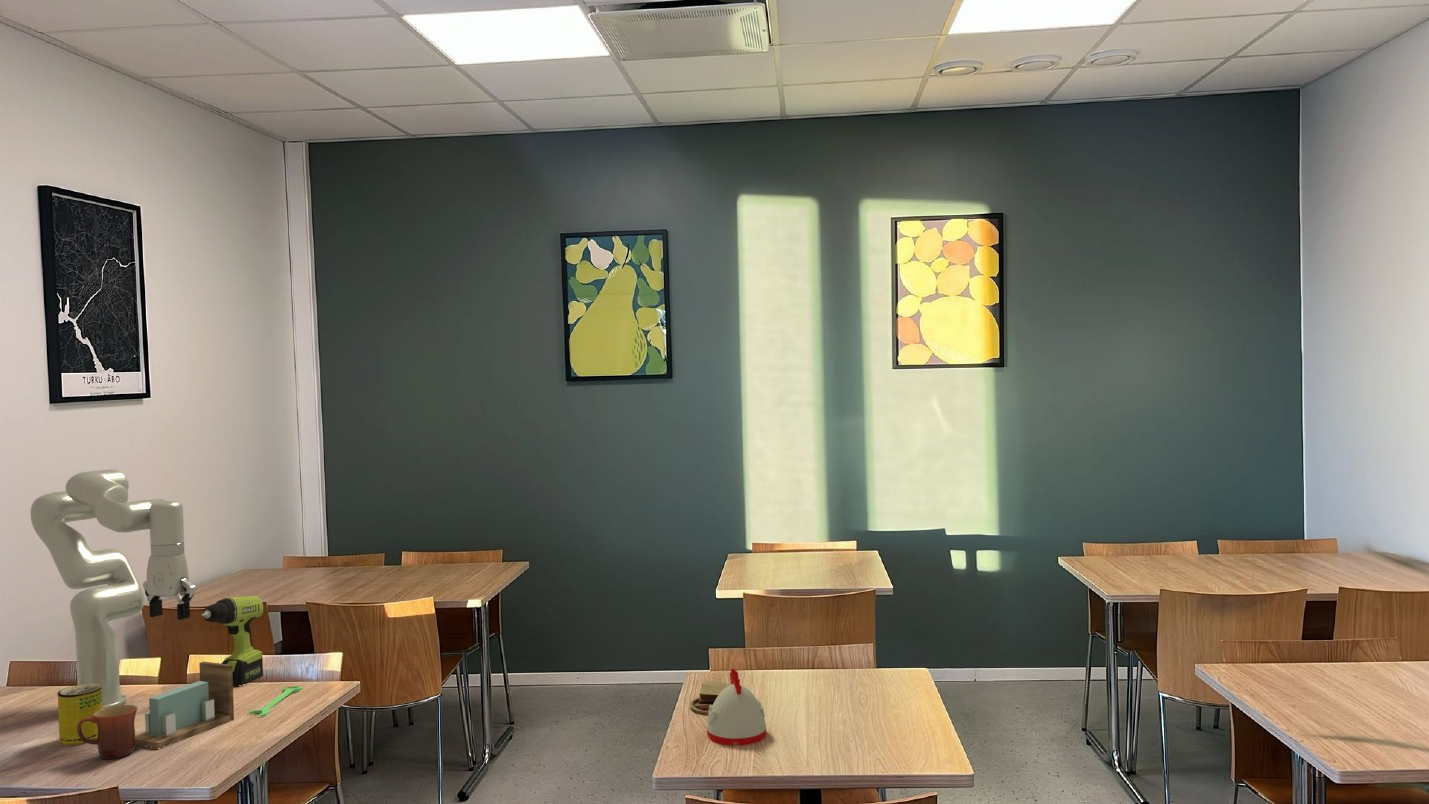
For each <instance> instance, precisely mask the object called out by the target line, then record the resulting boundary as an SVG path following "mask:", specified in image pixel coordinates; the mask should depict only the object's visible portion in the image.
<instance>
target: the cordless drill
mask: <svg viewBox="0 0 1429 804" xmlns="http://www.w3.org/2000/svg"><path fill="white" fill-rule="evenodd" d="M263 613H264V603H263V602H262V600H261V598H260V597H259V596H257V595H248V596H232V597H225V598H224V597H223V598H222V599H219V600H217V601H216V602H215V603H213V604H212V603H211V604H210V605H208V606H206V607H205V608H204V609H203V612H202V614H200V616H202V617H203V619H204V621H206V622H209V623H217V624H221V625H223V626H225V628H227V631H228V632H227V633H228V635H231V636H232V637H233V638H232V639H233V642H234V651H233V653H231V654H230V655H229V656H228V657H226V658H224V660H222V661H221V663H220V664H229V665H232V673H233V687H239V686H238V685H243V684H245V685H247V684H249V683H251V682H253V681H256V680H258V679H260V678H261V677H263V676H264V667H263V666H264V661H263V659H264V657H263V651H260V650H259V649H254V647H253V640H252V630H251V626H250V625H251V623H252V621H253V620H255V619H257V618H259V617H261V616H262V615H263ZM243 686H244V685H243Z"/></svg>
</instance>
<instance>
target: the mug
mask: <svg viewBox="0 0 1429 804" xmlns="http://www.w3.org/2000/svg"><path fill="white" fill-rule="evenodd" d="M137 711H138V706H137V705H134V704H122V705H117V706H112V707H107V708H104V709H101V710H98V711H96V712H95V713H94V714H93V716H91V717H85V718H83V719H81V720H80V721H79V722H78V725H77V732H78V736H79V737H80V739H81V740H82V741H83V742H85V744H90V745H92V746H93V745H94V746H95V745H96V746H97V750H98V757H100V759H104V760H117V759H122V758H125V757H127V756H129V755H131V754H132V753H133V752H134V750H135V746H136V745H135V742H136V740H135V736H136V729H135V719H136V715H137ZM86 721H90V722H93V723H95V724H96V725H97V728H98V737H97V738H95V739H90V738H87V737H86V736H85V735H84V734H83V731H82V723H83V722H86ZM121 757H122V758H121Z"/></svg>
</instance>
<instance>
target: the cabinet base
mask: <svg viewBox="0 0 1429 804" xmlns="http://www.w3.org/2000/svg"><path fill="white" fill-rule="evenodd" d="M199 681H203V682H208V694H209V699H208V700H205V701H202V719H203V720H202V721H199V722H197V723H194V724H191V725H189V726H186V727H184V728H181V729H178V730H176V723H175V713H169V714H167V715H164V716H162V723H163V736H160V737H157V736H151V735H150V711H148V712H145V713H144V722H145V723H144V724H145V727H144V728H145V731H144V732H142V733H139V734H135V740H136V742H135V746H136V745H138V747H142V746H147V747H146V748H148V747H152V748H151V749H154V748H161V747H163V746H166V747H168V746H167V745H169V744H171V743H174V744H176V743H178V742H177V741H179V740H181V741H183V740H182V739H184V740H186V739H188V738H187V737H189V738H191V737H194V736H196V735H198V733H199V734H201V732H202V733H204V732H206V730H207V731H209V730H211V729H210V728H212V729H214V728H216V726H217V727H219V726H221V725H224V724H226V723H225V722H227V723H229V722H231V721H230V720H232V719H234V720H235V713H234V712H235V711H234V710H235V709H234V708H235V707H234V704H235V703H234V686H233V673H232V665H229V664H221V663H219V662H211V661H210V662H209V661H201V662H199ZM228 721H229V722H228ZM232 721H233V720H232ZM223 723H224V724H223ZM218 725H219V726H218ZM203 731H204V732H203ZM195 734H196V735H195ZM193 735H194V736H193ZM185 738H186V739H185ZM175 742H176V743H175ZM179 742H180V741H179ZM171 745H172V744H171ZM169 746H170V745H169ZM161 749H162V748H161Z"/></svg>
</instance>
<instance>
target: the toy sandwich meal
mask: <svg viewBox="0 0 1429 804" xmlns="http://www.w3.org/2000/svg"><path fill="white" fill-rule="evenodd" d="M730 685H731V684H729V683H726V682H720V681H718V682H716V681H706V682H702V683H701V688H700V691H699V697H696V698H694V699H693V700H691V701H690V703H689V706H690V708H691V709H692V710H693V711H694V712H695V713H699V714H702V715H708V713H709V706H710V705H713V704H714V702H715V700H716V698H717V697H718V695H719V694H720V693H721V692H722V691H723V690H724V689H725V688H726V687H728V686H730Z"/></svg>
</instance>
